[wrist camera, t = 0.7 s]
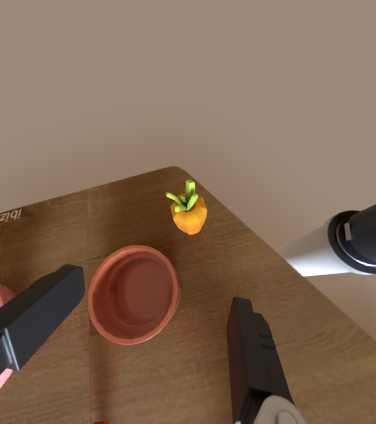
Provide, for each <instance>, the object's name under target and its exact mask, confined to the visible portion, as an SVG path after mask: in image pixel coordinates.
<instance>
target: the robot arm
mask: <svg viewBox="0 0 376 424" xmlns="http://www.w3.org/2000/svg"><path fill="white" fill-rule="evenodd" d="M335 238H336V242H337V244H338V246H339V248H340V249H341V251H342V252H343V253H344V254H345V255H346V256H347V257H348V258H350V259H351V260H353V261H354V262H356V263H358V264H361V265H364V266H376V204H375V205H373V206H371V207H369V208H367V209H365V210H363V211H360V212H358V213H356V214H354V215H352V216H348V217H346V218H344V219H342V220H341V221H340V222H339V223H338V224H337V226H336V229H335ZM84 292H85V286H84V276H83V269H82V267H79V266H74V265H69V264H66V265H63V266H62V267H61V268H59V269H58V270H57V271H55V272H52V273H50V274H48V275H46V276H44V277H41V278H40V279H38V280H37V281H35V282H34V283H33V284H31V285H30V286H29V288H26V289H25V290H23V291H22V292H20V294H18V295H16V296H15V297H14V298H12V299H11V300H10V301H8V302H7V303H5V304H4V305H3V306H1V307H0V375H1V374H2V373H3V372H4V371H5V370H6V369H11V370H15V371H19V370H20V369H21V368H22V367H23V366H24V365H25V363H26V362H27V361H28V360H29V359H30V358H31V357H32V356H33V354H34V353H35V352H36V351H37V350H38V349H39V348H40V347H41V345H42V344H43V343H44V342H45V341H46V340H47V339H48V338H49V336H50V335H51V334H52V333H53V332H54V331H55V330H56V328H57V327H58V326H59V325H60V324H61V323H62V322H63V321H64V319H65V318H66V317H67V316H68V315H69V314H70V313H71V312H72V310H73V309H74V308H75V307H76V306H77V305H78V304H79V303H80V301H81V300H82V298H83V296H84ZM227 343H228V357H229V372H230V387H231V401H232V416H233V424H308V422H307V421H306V419H305V417H304V416H303V414H302V413H301V412H300V411H299V409H298V408H297V407H296V406H295V405H294V402H293V400H292V398H291V395H290V392H289V389H288V386H287V382H286V379H285V376H284V373H283V369H282V366H281V363H280V360H279V357H278V353H277V350H276V347H275V344H274V341H273V339H272V334H271V331H270V328H269V325H268V323H267V322H266V320H265V319H264V318H263V316H262V315H261V314H259V313H254V312H253V309H252V304H251V301H250V300H249V299H244V298H238V297H234V298H233V301H232V305H231V309H230V313H229V317H228V322H227Z"/></svg>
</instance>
